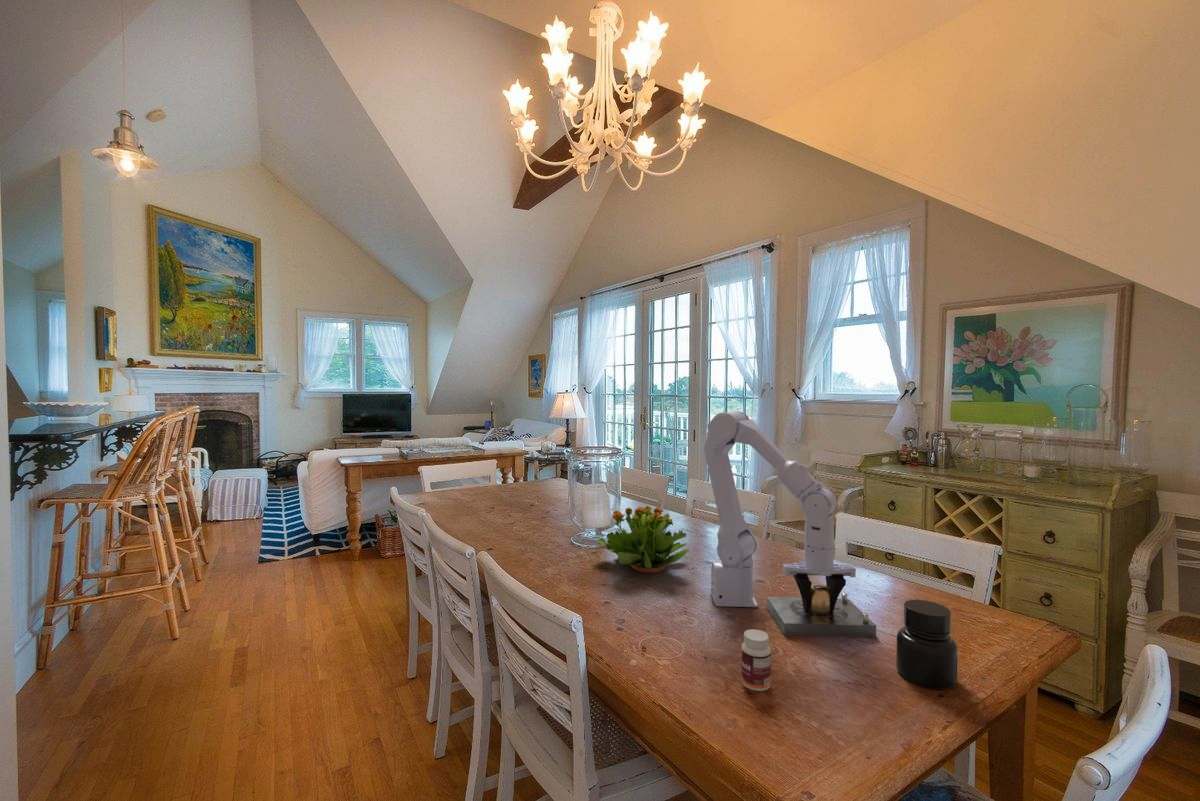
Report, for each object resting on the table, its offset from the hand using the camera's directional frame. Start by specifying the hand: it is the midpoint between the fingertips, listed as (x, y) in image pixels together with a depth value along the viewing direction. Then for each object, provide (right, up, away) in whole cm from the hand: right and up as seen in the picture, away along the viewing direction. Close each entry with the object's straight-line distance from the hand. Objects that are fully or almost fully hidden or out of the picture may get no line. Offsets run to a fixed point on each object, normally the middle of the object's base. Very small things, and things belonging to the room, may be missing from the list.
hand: (818, 608), depth 109 cm
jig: (0, -3, 0) cm, 3 cm away
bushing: (0, -2, 0) cm, 2 cm away
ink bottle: (+10, -4, -20) cm, 23 cm away
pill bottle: (-20, -4, -23) cm, 31 cm away
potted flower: (-32, -2, +33) cm, 46 cm away
